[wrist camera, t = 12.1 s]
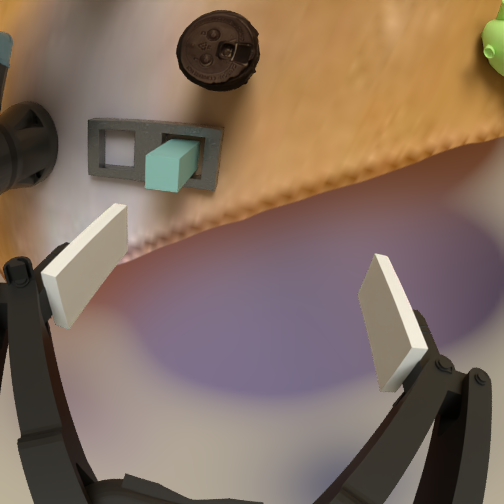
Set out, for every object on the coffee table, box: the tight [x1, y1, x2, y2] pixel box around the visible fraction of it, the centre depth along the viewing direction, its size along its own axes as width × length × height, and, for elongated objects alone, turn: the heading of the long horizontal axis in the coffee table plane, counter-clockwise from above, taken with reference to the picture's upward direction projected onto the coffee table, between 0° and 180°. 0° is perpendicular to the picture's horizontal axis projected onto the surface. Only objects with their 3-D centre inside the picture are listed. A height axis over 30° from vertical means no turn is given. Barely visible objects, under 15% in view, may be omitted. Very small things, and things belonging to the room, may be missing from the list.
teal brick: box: [145, 138, 200, 192], centre depth 38 cm, size 4×4×10 cm
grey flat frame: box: [88, 118, 224, 191], centre depth 42 cm, size 20×9×2 cm, turn 81°
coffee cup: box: [176, 10, 260, 92], centre depth 30 cm, size 9×8×13 cm
